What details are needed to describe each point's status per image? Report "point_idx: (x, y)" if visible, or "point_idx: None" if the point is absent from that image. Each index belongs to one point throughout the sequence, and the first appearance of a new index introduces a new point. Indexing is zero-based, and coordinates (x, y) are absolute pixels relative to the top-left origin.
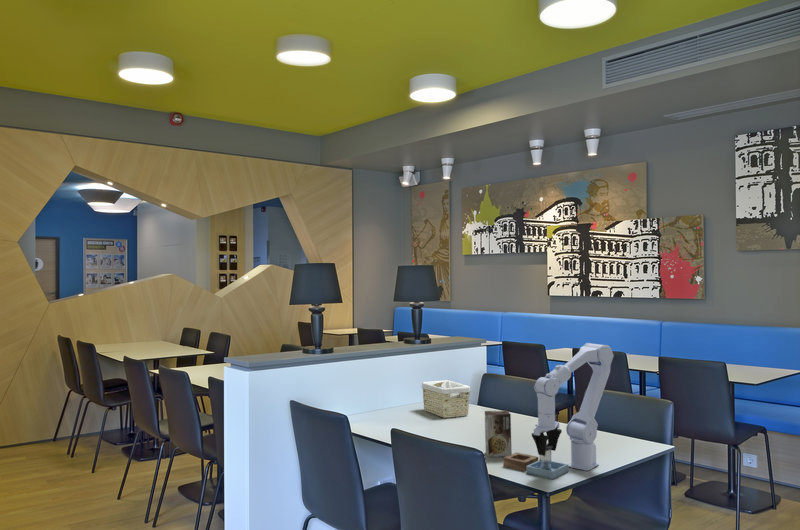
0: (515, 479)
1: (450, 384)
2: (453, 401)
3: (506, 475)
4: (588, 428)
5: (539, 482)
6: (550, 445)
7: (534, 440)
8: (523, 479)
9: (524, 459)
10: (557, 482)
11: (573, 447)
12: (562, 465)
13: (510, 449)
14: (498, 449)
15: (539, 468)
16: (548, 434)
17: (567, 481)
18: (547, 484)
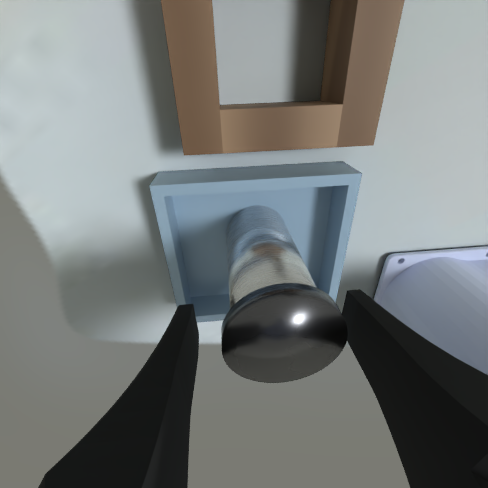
0: (22, 186)
1: None
2: None
3: (14, 94)
4: None
5: (105, 284)
6: (298, 370)
7: (104, 418)
8: (66, 216)
9: (340, 28)
10: (169, 322)
11: (454, 356)
12: (326, 286)
13: None
14: None
15: (176, 261)
16: (434, 404)
17: (208, 335)
18: (116, 313)
